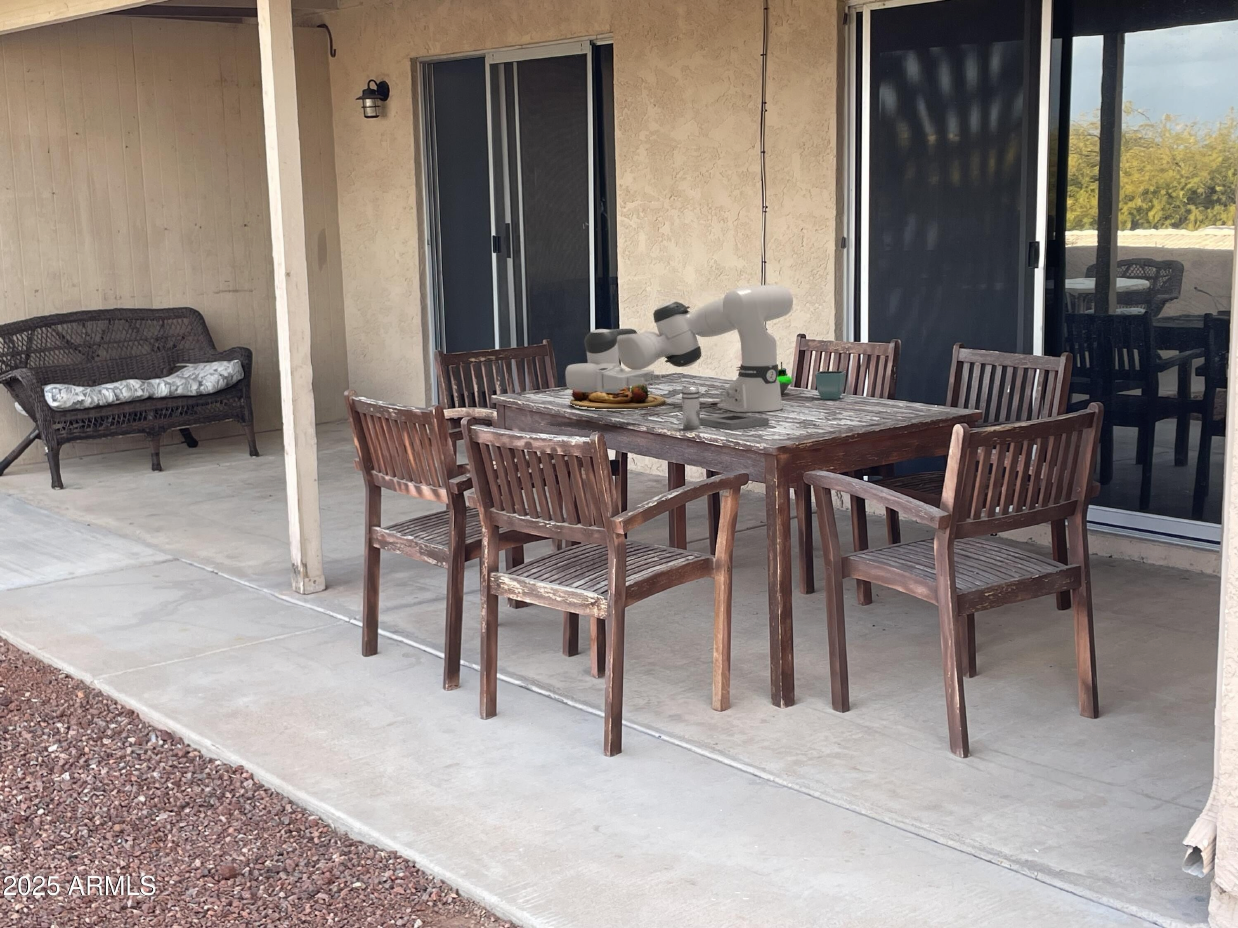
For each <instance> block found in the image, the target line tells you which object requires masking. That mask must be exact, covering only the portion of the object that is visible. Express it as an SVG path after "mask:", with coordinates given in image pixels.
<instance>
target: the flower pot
mask: <svg viewBox="0 0 1238 928" xmlns="http://www.w3.org/2000/svg"><path fill="white" fill-rule="evenodd" d="M846 375H847V371H846V370H820V371H817V372H815V373H814V376H815V384H816V390H817V394H818V395H819V397H820V398H821V400H823V401H825V400H835V401H836V400H839V399H840V398H841V396H842V394H843V392H844V388H845V382H846Z"/></svg>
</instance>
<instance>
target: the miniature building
mask: <svg viewBox="0 0 1238 928" xmlns="http://www.w3.org/2000/svg"><path fill="white" fill-rule="evenodd" d="M777 379H778V381H779V383H780V391H781V395H782V394H784V393H785V391H787V389H788V388H789V387H790V385H791V384H792V381H793V378H792V377H791V376H788V373H787V369H786V368H785V367H783V361H780V368H779V371H778V376H777Z"/></svg>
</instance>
